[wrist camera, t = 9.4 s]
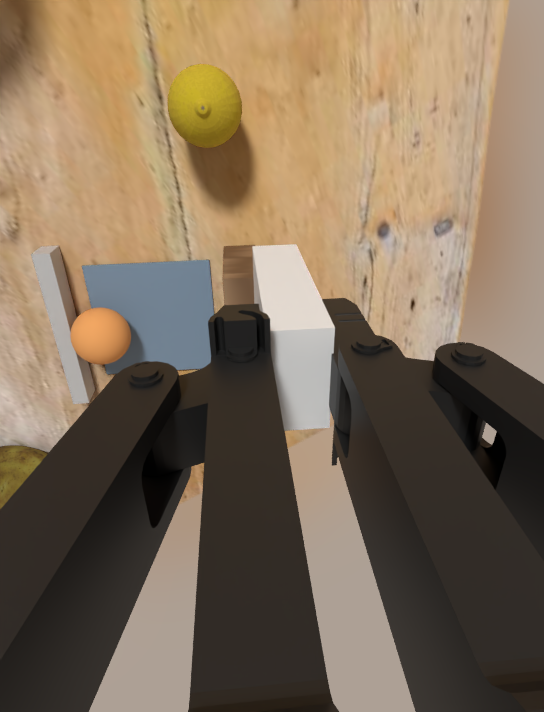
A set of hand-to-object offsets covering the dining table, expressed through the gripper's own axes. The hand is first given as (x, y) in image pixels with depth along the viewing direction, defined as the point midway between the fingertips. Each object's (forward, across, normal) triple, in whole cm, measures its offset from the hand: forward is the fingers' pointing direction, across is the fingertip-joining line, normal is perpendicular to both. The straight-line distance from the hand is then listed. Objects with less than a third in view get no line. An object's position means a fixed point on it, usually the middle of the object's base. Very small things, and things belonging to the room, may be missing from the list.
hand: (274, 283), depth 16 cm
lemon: (+29, -3, +5) cm, 29 cm away
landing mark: (+28, -10, -14) cm, 33 cm away
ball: (+26, -15, -14) cm, 33 cm away
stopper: (+28, -18, -14) cm, 37 cm away
